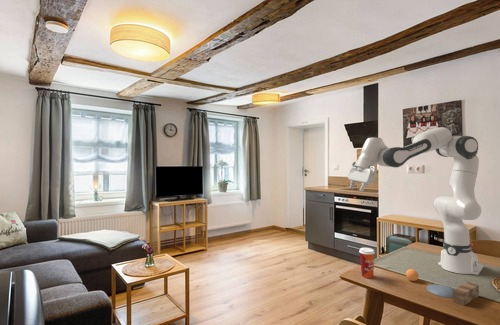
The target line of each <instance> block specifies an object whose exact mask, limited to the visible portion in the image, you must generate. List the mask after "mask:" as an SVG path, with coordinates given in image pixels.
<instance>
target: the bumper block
mask: <svg viewBox="0 0 500 325" xmlns="http://www.w3.org/2000/svg"><path fill="white" fill-rule="evenodd" d="M479 293H480V288H479V284H476V283H473V282H470V281H467V282H466V283H463V284H461V285H459V286H458V287H456V288H454V290H453V298H452V303H455V304H458V305H461V306H466V305H467V304H469V303H471V302H472V301H474V300H476V299H477V298H479V296H480V294H479Z"/></svg>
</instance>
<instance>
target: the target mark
mask: <svg viewBox="0 0 500 325" xmlns="http://www.w3.org/2000/svg"><path fill="white" fill-rule="evenodd" d="M425 288H426V291H428V292H429V293H430V294H432V295H435V296H438V297H442V298H448V299H453V290H454V289H455V288H454V287H451V286H449V285H446V284H445V285H444V284H434V283H433V284H428V285H427V286H426V287H425Z"/></svg>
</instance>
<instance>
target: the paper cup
mask: <svg viewBox="0 0 500 325" xmlns="http://www.w3.org/2000/svg"><path fill="white" fill-rule="evenodd" d="M358 253H359V257H360V258H359V259H360V269H361V270H360V271H361V277H363V278H365V279H373V278H374V269H375V253H376V252H375V250H374V249H373V248H371V247H361V248H359V251H358Z"/></svg>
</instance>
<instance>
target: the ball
mask: <svg viewBox="0 0 500 325" xmlns="http://www.w3.org/2000/svg"><path fill="white" fill-rule="evenodd" d="M405 276H406V278H407V279H408V280H409V281H412V282H415V281H417V280H418V279H419V273H418V272H417V270H415V269H414V268H413V269H412V268H408V269H407V270H406V271H405Z"/></svg>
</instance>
